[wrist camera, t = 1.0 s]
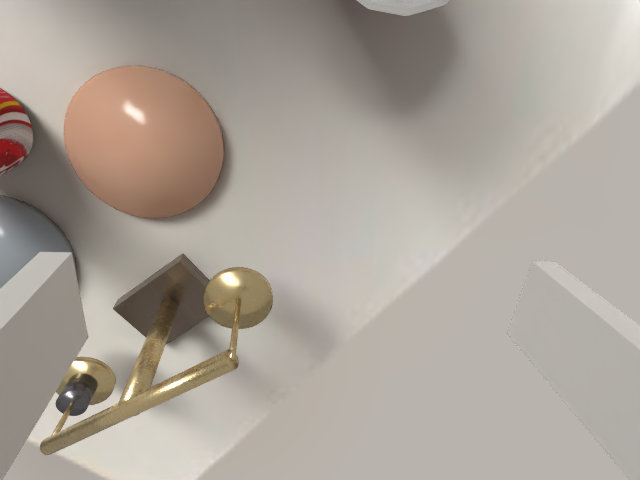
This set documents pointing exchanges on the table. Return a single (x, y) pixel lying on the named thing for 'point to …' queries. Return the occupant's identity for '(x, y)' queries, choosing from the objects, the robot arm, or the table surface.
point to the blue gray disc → (25, 237)
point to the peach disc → (143, 141)
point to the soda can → (13, 133)
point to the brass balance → (161, 344)
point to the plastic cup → (402, 6)
